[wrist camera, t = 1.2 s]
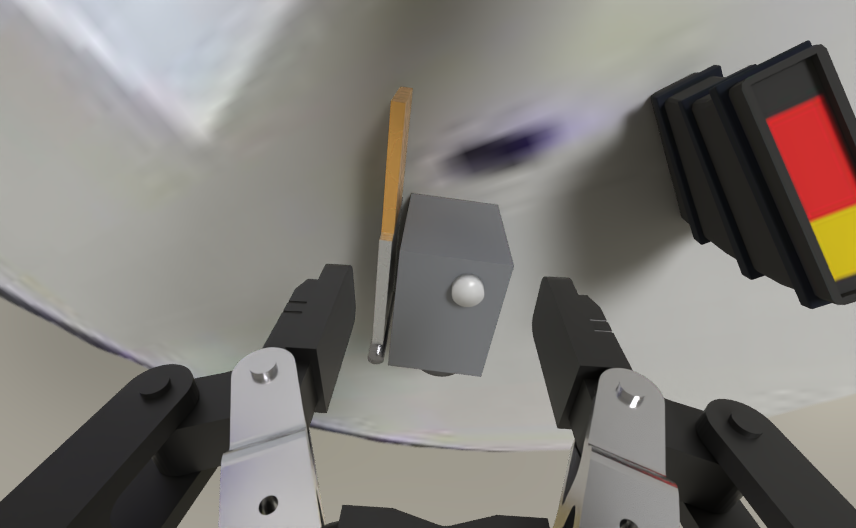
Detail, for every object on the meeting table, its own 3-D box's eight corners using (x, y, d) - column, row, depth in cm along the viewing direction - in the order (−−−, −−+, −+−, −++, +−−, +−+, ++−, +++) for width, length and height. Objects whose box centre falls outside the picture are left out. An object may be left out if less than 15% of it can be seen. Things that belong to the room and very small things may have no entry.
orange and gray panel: (395, 300, 36) (383, 365, 30) (382, 298, 36) (367, 363, 30) (417, 85, 26) (406, 109, 20) (399, 82, 26) (383, 105, 20)
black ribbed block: (694, 261, 31) (829, 317, 17) (628, 112, 31) (710, 40, 17) (746, 242, 30) (937, 284, 16) (678, 86, 30) (812, -14, 15)
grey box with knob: (411, 193, 31) (398, 257, 23) (498, 204, 31) (515, 273, 23) (398, 311, 38) (384, 394, 29) (469, 320, 38) (475, 405, 30)
